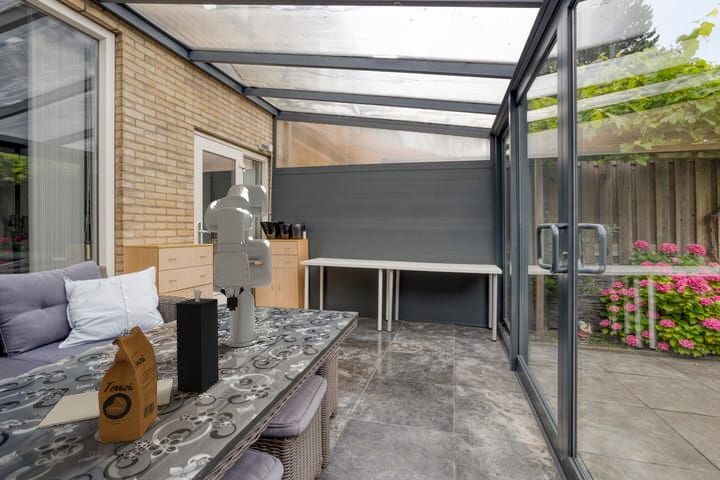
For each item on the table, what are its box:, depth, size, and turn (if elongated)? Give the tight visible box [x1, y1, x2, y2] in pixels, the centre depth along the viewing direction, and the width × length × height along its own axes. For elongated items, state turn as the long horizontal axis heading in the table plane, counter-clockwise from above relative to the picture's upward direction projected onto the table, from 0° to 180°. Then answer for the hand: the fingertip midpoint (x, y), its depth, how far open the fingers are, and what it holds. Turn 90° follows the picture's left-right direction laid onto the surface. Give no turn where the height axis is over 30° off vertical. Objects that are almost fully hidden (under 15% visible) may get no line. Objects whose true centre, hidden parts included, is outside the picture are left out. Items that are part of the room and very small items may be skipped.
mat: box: [37, 378, 174, 430], centre depth 90 cm, size 26×16×1 cm, turn 115°
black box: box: [175, 289, 220, 394], centre depth 98 cm, size 8×8×28 cm
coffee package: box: [98, 325, 159, 444], centre depth 77 cm, size 10×12×22 cm
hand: (232, 310), depth 102 cm, fingers closed
